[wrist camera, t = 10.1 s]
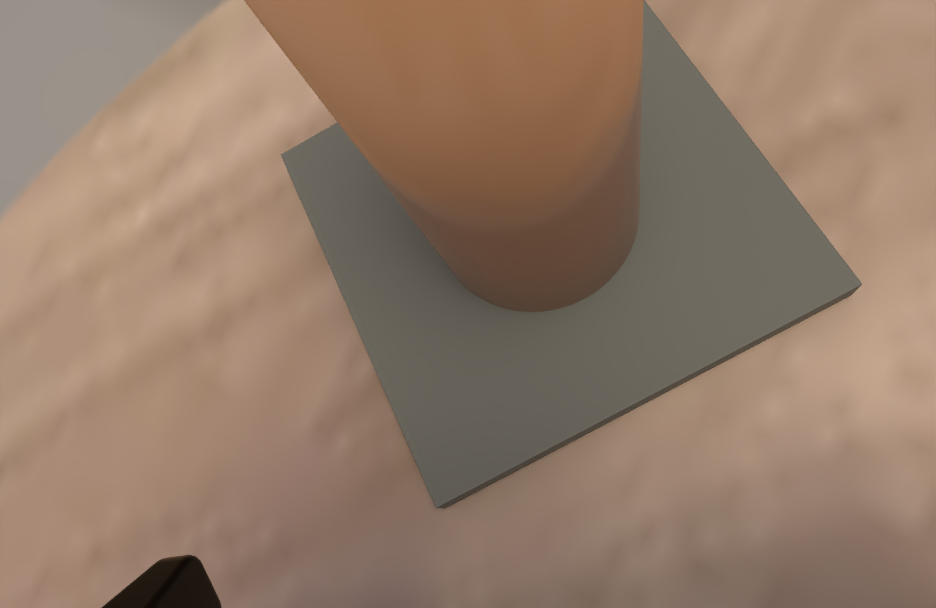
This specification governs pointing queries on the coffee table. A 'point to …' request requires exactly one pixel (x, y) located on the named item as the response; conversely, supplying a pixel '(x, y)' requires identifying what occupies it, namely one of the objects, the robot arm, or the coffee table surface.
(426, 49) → the tan domed cylinder
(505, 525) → the coffee table surface
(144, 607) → the robot arm
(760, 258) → the slate mat
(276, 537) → the coffee table surface
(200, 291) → the coffee table surface
